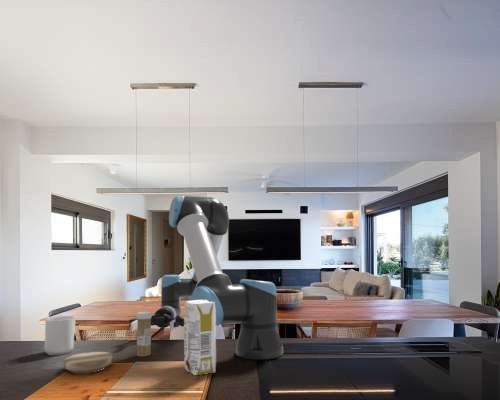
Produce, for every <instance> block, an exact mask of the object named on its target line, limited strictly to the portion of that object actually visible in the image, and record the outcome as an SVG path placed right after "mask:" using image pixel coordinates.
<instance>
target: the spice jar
mask: <svg viewBox="0 0 500 400" xmlns="http://www.w3.org/2000/svg"><path fill="white" fill-rule="evenodd" d="M151 316H152V312H151V311H138V312H137V313H136V318H137V320H138V325H137V329H136V357H137V356H138V357H142V358H143V357H148V356H151V354H152V352H151V343H152V326H151Z"/></svg>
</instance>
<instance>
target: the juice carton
mask: <svg viewBox="0 0 500 400" xmlns="http://www.w3.org/2000/svg"><path fill="white" fill-rule="evenodd" d="M183 310H184V311H183V319H184V326H183V332H184V333H183V363H184V369H185V371H186V370H188V371H190V372H191V373H192V374H193V375H200V374H205V373H211V374H214V373H216V367H217V325H216V309H215V302H209V301H207V300H192V299H191V300H187V301H185V302H184V309H183ZM188 371H187V372H188ZM191 373H190V374H191ZM192 374H191V375H192ZM193 375H192V376H193ZM205 375H206V374H205ZM200 376H201V375H200Z"/></svg>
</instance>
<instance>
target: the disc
mask: <svg viewBox="0 0 500 400" xmlns="http://www.w3.org/2000/svg"><path fill="white" fill-rule="evenodd" d="M112 363H113V354H112V353H111V352H107V351H89V352H82V353H81V352H80V353H76V354H73V355H69V356H68V357H66V358H64V360H63V369H64V370H67V371H69V373H71V374H77V375H78V374H79V375H80V374H81V375H83V374H84V373H85V374H90V373H89V372H93V373H95V372H94V371H97V372H99V371H98V370H101V369H103V368H105V367H106V366H107V367H108V366H110V365H111V364H112ZM107 367H106V368H107ZM106 368H105V369H106ZM103 370H104V369H103ZM101 371H102V370H101Z"/></svg>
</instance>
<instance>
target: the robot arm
mask: <svg viewBox="0 0 500 400" xmlns="http://www.w3.org/2000/svg"><path fill="white" fill-rule="evenodd" d="M168 224H169V226H170V227H171V228H176V230H177V232H178V234H180V235H181V236H182V237H184V240H185V245H186V248H187V251H188V254H189V257H190V261H191V264H192V268H193V274H192V277H191V278H180V275H179V274H164V275H162V277H161V285H160V289H161V300H160V301H161V302H160V303H161V304H160V305H161V307H160V308H159V309H157V310H156V311H155V312H154V314H153V315H151V327H152V326H157V327H158V328H160V329H165V328H168V327H169V332H172V331H174V329H176V328H178V327H183V328H184V317H181V313H182V307H181V306H180V298H185V297H191V301H192V300H207V301H209V302H215V309H216V326H220V325H225V324H236V323H240V331H239V335H238V338H237V343H236V345H235V346H236V347H235V355H236V356H237V357H239V358H242V359H245V360H246V359H247V360H271V359H276V358H279V357H281V356H283V354H284V346H283V343H282V339H281V336H280V334H279V331H278V317H277V315H278V311H277V309H278V307H277V304H278V303H277V297H278V294H277V287H276V285H275V283H273V282H272V281H266V280H265V281H264V280H256V279H255V280H254V279H246V278H243V279H240V281H239V283H238V284H237V283H236V284H233V283H232V281H231V279H230V276H229V275H228V274H226V273H223V269H222V267H221V264H220V261H219V258H218V253H219V251H220V247H221V244H222V240H223V237H224V236H225V235H226V234H227V233H228V230H229V226H230V225H229V224H230V217H229V212H228V210H227V208H226V206H225V204H223V203H222V201H220V200H219V199H217V198H215V197H211V196H209V197H208V196H207V197H205V196H191V195H190V196H189V195H182V196H181V195H179V196H177V195H176V196H174V197H173V199H172V200H171V202H170V206H169V213H168ZM128 324H129V325H128V327H129V328H130V332H134V331H135V330H136V331H137V325H138V320H137V317H135V318H131V319H129V320H128Z"/></svg>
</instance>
